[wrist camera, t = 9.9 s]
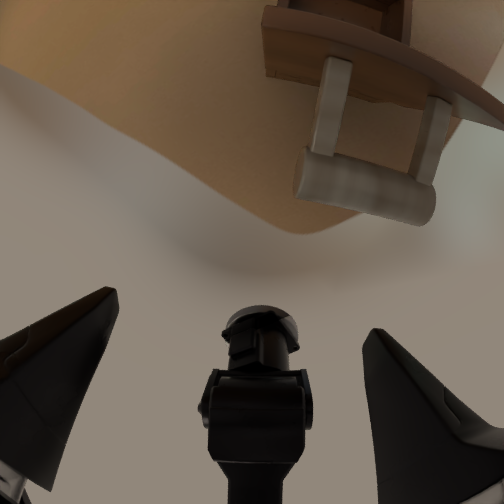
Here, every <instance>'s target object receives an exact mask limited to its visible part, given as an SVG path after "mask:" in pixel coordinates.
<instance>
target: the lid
mask: <svg viewBox="0 0 504 504" xmlns="http://www.w3.org/2000/svg"><path fill="white" fill-rule="evenodd" d="M261 28H262V38H263V48H264V59H265V69H269V70H275V71H280V72H286V73H291V74H296V75H301V76H305V77H310V78H314V79H318V80H321V83H320V88H319V93H318V98H317V103H316V108H315V113H314V118H313V123H312V127H311V132H310V137H309V142H308V146H304V147H303V148H302V149H301V151H300V153H299V156H298V160H297V164H296V169H295V174H294V182H293V194H294V197H295V198H297V199H302V200H307V201H312V202H317V203H322V204H327V205H331V206H336V207H341V208H345V209H350V210H354V211H359V212H363V213H367V214H372V215H376V216H380V217H384V218H388V219H392V220H396V221H400V222H404V223H408V224H411V225H415V226H423V225H425V224H426V223H427V222H428V221H429V220H430V219H431V217H432V215H433V213H434V210H435V205H436V193H435V189H434V187H433V185H432V182H433V179H434V176H435V173H436V170H437V166H438V163H439V160H440V156H441V153H442V149H443V145H444V142H445V138H446V134H447V130H448V126H449V121H450V117H451V116H454V117H458V118H462V119H466V120H470V121H473V122H477V123H481V124H484V125H487V126H491V127H494V128H497V129H500V130H503V131H504V104H503V103H502V102H500V101H499V100H498V99H496V98H495V97H494V96H492V95H491V94H490V93H488V92H487V91H485V90H484V89H483V88H481V87H480V86H478V85H477V84H475V83H474V82H472V81H471V80H469V79H468V78H466V77H465V76H463V75H462V74H460V73H458V72H457V71H455V70H453V69H452V68H450V67H448V66H446V65H445V64H443V63H441V62H439V61H437V60H436V59H434V58H432V57H430V56H428V55H426V54H424V53H422V52H420V51H418V50H416V49H414V48H412V47H410V46H407V45H405V44H403V43H401V42H398V41H396V40H394V39H391V38H389V37H386V36H384V35H381V34H379V33H376V32H373V31H371V30H368V29H365V28H362V27H359V26H356V25H353V24H350V23H347V22H343V21H340V20H336V19H333V18H329V17H325V16H321V15H317V14H313V13H309V12H304V11H299V10H294V9H289V8H283V7H277V6H270V5H267V6H265V7H264V12H263V17H262V23H261ZM348 88H351V89H354V90H357V91H361V92H364V93H367V94H370V95H373V96H376V97H378V98H381V99H384V100H387V101H389V102H392V103H395V104H397V105H400V106H402V107H408V108H414V109H420V110H424V113H423V117H422V122H421V126H420V130H419V134H418V138H417V142H416V145H415V149H414V153H413V156H412V160H411V163H410V167H409V170H408V173H404V172H401V171H398V170H394V169H391V168H388V167H385V166H382V165H378V164H375V163H372V162H368V161H365V160H361V159H358V158H354V157H350V156H346V155H342V154H338V153H334V152H335V147H336V143H337V139H338V135H339V130H340V126H341V121H342V117H343V112H344V107H345V103H346V98H347V93H348Z"/></svg>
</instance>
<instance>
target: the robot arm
mask: <svg viewBox="0 0 504 504" xmlns="http://www.w3.org/2000/svg"><path fill="white" fill-rule="evenodd" d="M118 313H119V303H118V296H117V291H116V289H115V288H111V287H106V286H105V287H103V288H101V289H99V290H97V291H95V292H93V293H91V294H89V295H87V296H85V297H83V298H81V299H79V300H77V301H75V302H73V303H71V304H69V305H67V306H65V307H64V308H61V309H60V310H58V311H56V312H54V313H52V314H50V315H48V316H47V317H44V318H43V319H41V320H39V321H37V322H35V323H33V324H31V325H30V327H29V326H27V327H26V328H24V329H22V330H20V331H18V332H16V333H14V334H12V335H10V336H9V337H6V338H5V339H2V340H0V504H31V502H30V500H29V497H28V495H27V493H26V490H25V488H24V487H25V484H26V482H27V479H29V480H31V481H32V482H34V483H35V484H37V485H39V486H40V487H42V488H44V489H46V490H48V491H49V492H51V490H52V487H53V484H54V480H55V477H56V474H57V470H58V467H59V464H60V461H61V458H62V455H63V452H64V449H65V446H66V443H67V440H68V437H69V435H70V432H71V429H72V427H73V424H74V421H75V419H76V416H77V414H78V411H79V409H80V406H81V404H82V401H83V399H84V396H85V394H86V392H87V389H88V387H89V385H90V382H91V380H92V378H93V375H94V373H95V371H96V369H97V367H98V364H99V362H100V360H101V358H102V356H103V354H104V351H105V349H106V346H107V344H108V341H109V338H110V335H111V332H112V329H113V327H114V324H115V321H116V319H117V316H118ZM269 315H272V316H269ZM226 334H228V335H226ZM221 336H222V337H223V338H224V340H225V341H226V342H227V343H228V344H229V352H228V355H229V356H230V358H229V364H228V370H219V369H213V371H212V374H211V375H210V377H209V379H208V382H207V385H206V388H205V390H204V393H203V396H202V399H201V402H200V403H199V405H198V412H199V413H200V414H201V415H202V420H203V425H204V427H205V428H207V429H208V451H209V453H210V455H211V457H212V459H213V460H214V461H217V463H218V464H219V466H220V468H221V469H222V471H223V472H224V474H225V475H226V477H227V478H228V504H282V490H283V480H284V478H285V477H286V476H287V474H288V473H289V471H290V470H291V468H292V467H293V466H294V464H295V463H297V462H298V460H299V458H300V457H301V455H302V453H303V451H304V448H305V430H310V429H311V427H312V422H313V399H312V393H311V388H310V384H309V380H308V375H307V371H306V369H301V370H292V371H291V370H289V356H288V354H290V353H293V352H295V351H297V350H299V348H300V346H299V343H298V342H297V341H296V339H295V338H294V337H293V335H292V334H291V333H290V331H289V330H288V329H287V327H286V326H285V325H284V323H283V322H282V321H281V319H280V318H279V317H278V315H277V314H276V313H275V312H274V311H272V310H269V311H267V312H265V313H262V314H260V315H258V316H255V317H253V318H250V319H248V320H245V321H243V322H241V323H238V324H236V325H234V326H232V327H230V328H227V329H225V330H223V331H222V334H221ZM362 354H363V365H364V380H365V389H366V395H367V402H368V408H369V415H370V422H371V429H372V437H373V445H374V454H375V464H376V475H377V485H378V486H377V488H378V489H377V490H378V504H504V428H497V427H494V426H492V425H490V424H488V423H487V422H486V421H484V420H483V419H482V418H481V417H480V416H478V415H477V414H476V413H475V412H474V411H472V410H471V409H470V408H468V407H467V406H466V405H465V404H464V403H463V402H461V401H460V400H459V399H458V398H457V397H456V396H455V395H454V394H453V393H452V392H451V391H450V390H449V389H447V388H446V387H444V385H443V384H442V383H441V382H440V381H439V380H438V379H437V378H436V377H435V376H434V375H433V374H432V373H431V372H429V371H428V370H427V369H426V368H425V367H424V366H423V365H422V364H421V363H420V362H419V361H418V360H417V359H415V358H414V357H413V356H412V355H411V354H410V353H409V352H408V351H407V350H406V349H405V348H403V347H402V346H401V345H400V344H399V343H398V342H397V341H396V340H395V339H393V337H391V336H390V335H389V334H388V333H387V332H386V331H384V330H383V329H378V328H373V329H372V330H371V331H370V333H369V335H368V337H367V339H366V340H365V342H364V344H363V348H362Z"/></svg>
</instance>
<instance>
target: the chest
mask: <svg viewBox="0 0 504 504" xmlns="http://www.w3.org/2000/svg"><path fill="white" fill-rule="evenodd" d="M412 4H413V0H278V4H277V7H283V8H289V9H294V10H299V11H304V12H309V13H313V14H317V15H321V16H325V17H329V18H333V19H336V20H340V21H343V22H347V23H350V24H353V25H356V26H359V27H362V28H365V29H368V30H371V31H373V32H376V33H379V34H381V35H384V36H386V37H389V38H391V39H394V40H396V41H398V42H401V43H403V44H405V45H407V46H409V45H410V35H411V22H412ZM266 76H267V77H272V78H278V79H283V80H289V81H294V82H299V83H303V84H308V85H312V86H316V87H320V83H321V80H318V79H314V78H310V77H305V76H301V75H296V74H291V73H286V72H280V71H275V70H269V69H266ZM347 95H350V96H353V97H356V98H360V99H363V100H366V101H369V102H372V103H381V102H389V101H387V100H384V99H381V98H378V97H376V96H373V95H370V94H367V93H364V92H361V91H357V90H354V89H351V88H348V93H347Z"/></svg>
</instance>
